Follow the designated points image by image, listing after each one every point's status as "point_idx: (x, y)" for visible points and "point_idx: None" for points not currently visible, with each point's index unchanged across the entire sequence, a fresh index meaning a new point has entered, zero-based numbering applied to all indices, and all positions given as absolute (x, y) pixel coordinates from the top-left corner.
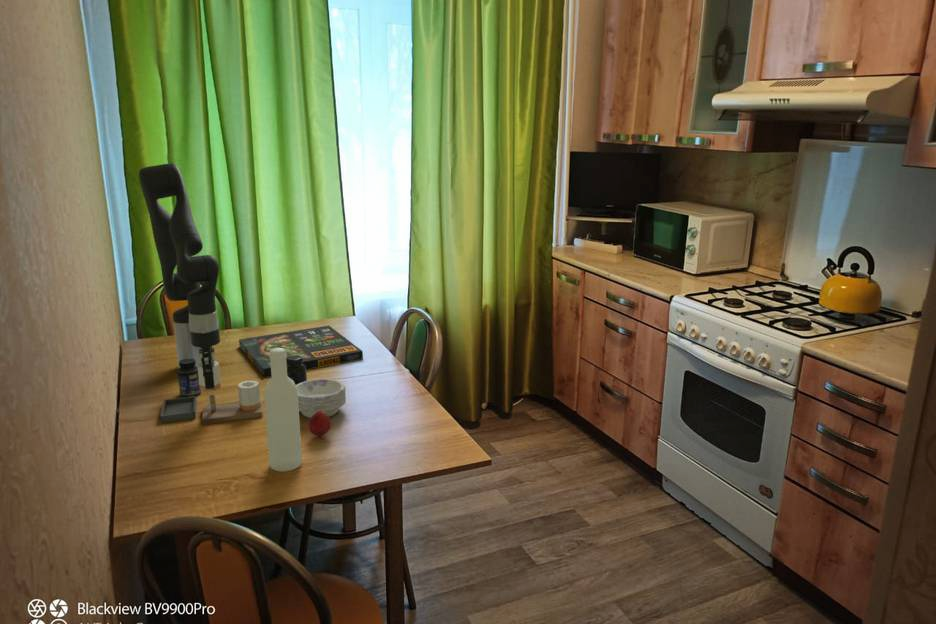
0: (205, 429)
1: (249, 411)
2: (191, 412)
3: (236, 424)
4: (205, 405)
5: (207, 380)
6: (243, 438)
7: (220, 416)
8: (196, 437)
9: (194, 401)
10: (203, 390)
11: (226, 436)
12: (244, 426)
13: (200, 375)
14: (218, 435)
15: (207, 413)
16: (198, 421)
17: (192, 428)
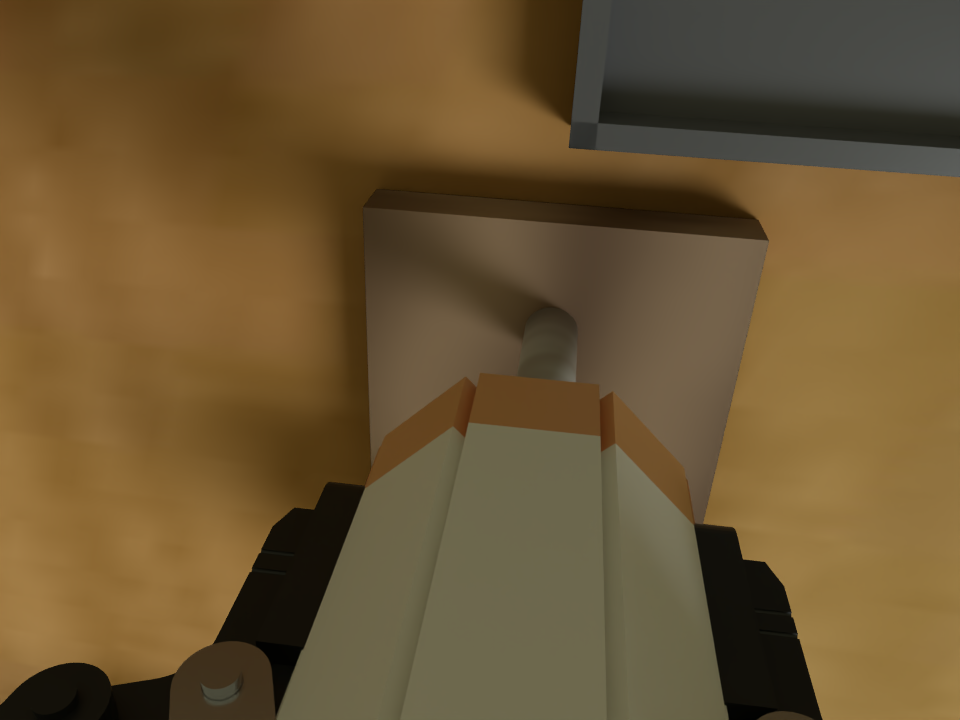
0: (263, 206)
1: None
2: (573, 107)
3: (302, 446)
4: (762, 266)
5: (234, 619)
6: (38, 454)
7: (394, 373)
8: (100, 115)
9: (928, 158)
10: (414, 417)
11: (87, 354)
12: (248, 489)
13: (375, 592)
14: (115, 300)
15: (517, 269)
16: (480, 152)
17: (319, 84)
